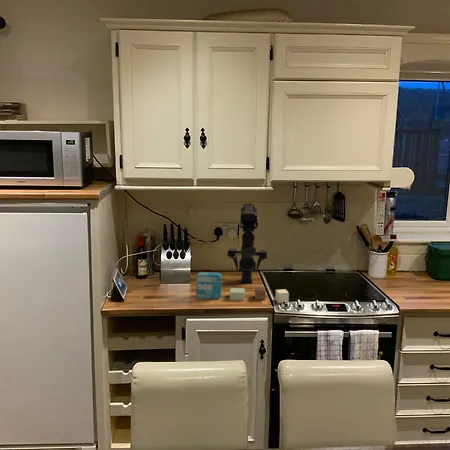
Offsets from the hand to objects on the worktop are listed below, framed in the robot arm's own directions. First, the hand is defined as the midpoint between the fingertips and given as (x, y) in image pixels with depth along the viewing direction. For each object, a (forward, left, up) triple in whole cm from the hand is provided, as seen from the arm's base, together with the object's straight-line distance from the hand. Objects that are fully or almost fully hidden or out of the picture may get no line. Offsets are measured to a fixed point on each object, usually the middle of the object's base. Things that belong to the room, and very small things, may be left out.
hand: (247, 270), depth 223 cm
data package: (-1, -18, -15) cm, 24 cm away
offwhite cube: (0, +17, -15) cm, 23 cm away
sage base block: (-2, -4, -15) cm, 16 cm away
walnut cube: (-3, +7, -15) cm, 16 cm away
